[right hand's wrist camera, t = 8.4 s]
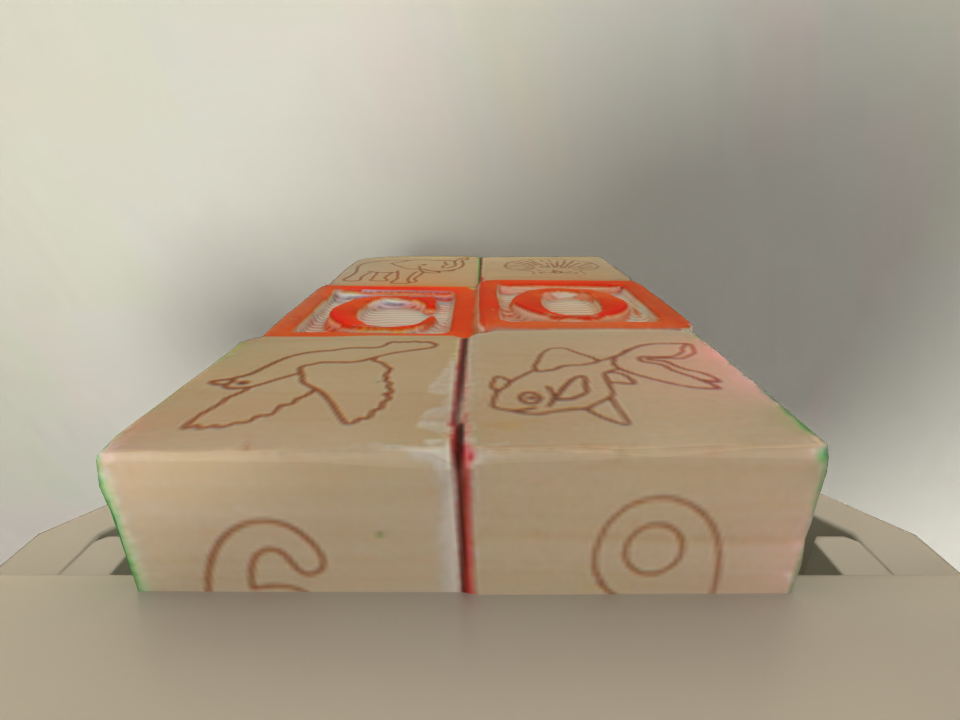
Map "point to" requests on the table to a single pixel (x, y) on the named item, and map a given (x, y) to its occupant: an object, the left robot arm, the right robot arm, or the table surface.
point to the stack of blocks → (468, 446)
